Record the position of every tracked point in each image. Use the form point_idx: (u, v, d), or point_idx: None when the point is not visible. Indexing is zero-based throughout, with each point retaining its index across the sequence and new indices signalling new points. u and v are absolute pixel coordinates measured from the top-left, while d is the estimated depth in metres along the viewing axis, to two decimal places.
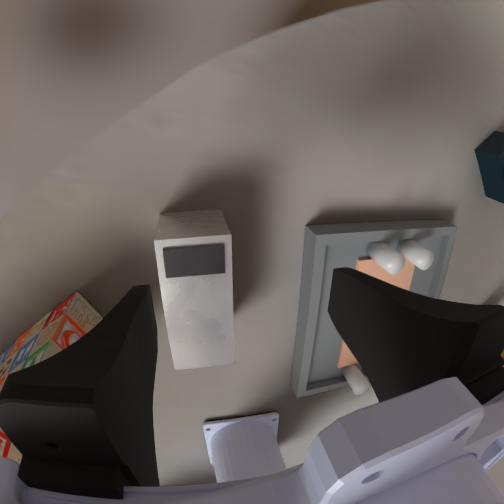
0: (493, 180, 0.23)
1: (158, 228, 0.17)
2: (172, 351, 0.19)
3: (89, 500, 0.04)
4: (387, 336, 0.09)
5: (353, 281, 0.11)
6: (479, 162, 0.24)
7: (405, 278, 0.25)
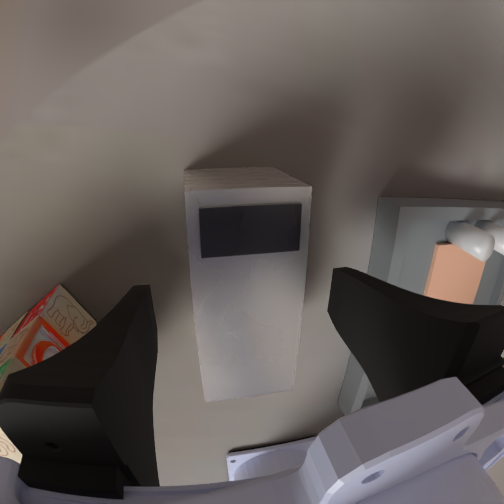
0: None
1: (187, 180, 0.11)
2: (203, 376, 0.12)
3: (89, 500, 0.04)
4: (387, 336, 0.09)
5: (353, 281, 0.11)
6: None
7: (478, 269, 0.18)
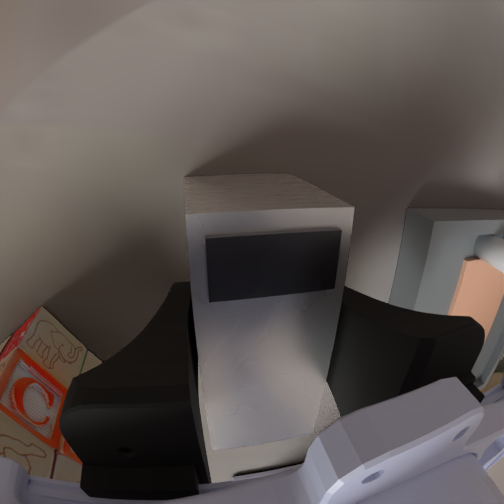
0: None
1: (188, 195, 0.08)
2: (210, 427, 0.10)
3: None
4: (345, 346, 0.09)
5: None
6: None
7: (502, 284, 0.16)
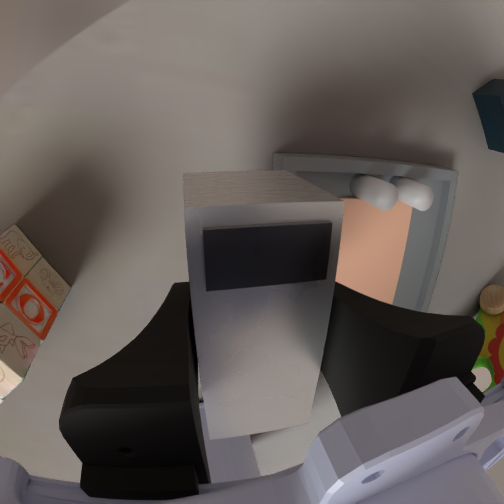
0: (496, 127, 0.19)
1: (187, 190, 0.09)
2: (208, 416, 0.10)
3: None
4: (345, 346, 0.09)
5: None
6: (478, 108, 0.20)
7: (400, 229, 0.21)
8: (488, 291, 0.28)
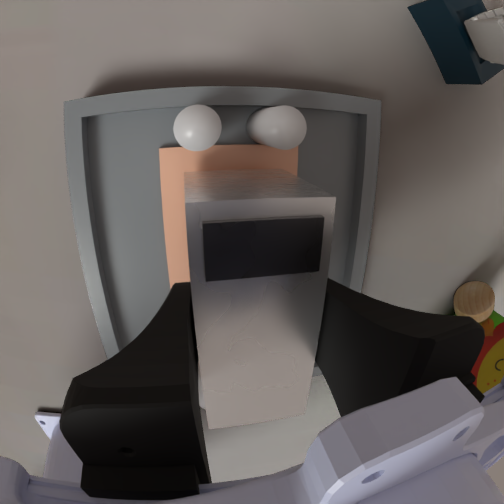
0: (448, 47, 0.12)
1: (187, 187, 0.09)
2: (207, 405, 0.11)
3: None
4: (345, 346, 0.09)
5: None
6: (420, 25, 0.13)
7: None
8: (465, 291, 0.21)
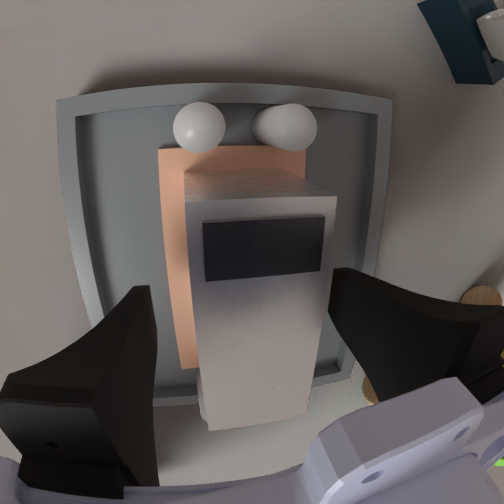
0: (459, 45, 0.12)
1: (187, 187, 0.09)
2: (207, 406, 0.10)
3: (89, 500, 0.04)
4: (387, 336, 0.09)
5: (352, 281, 0.11)
6: (430, 23, 0.12)
7: None
8: (472, 296, 0.20)
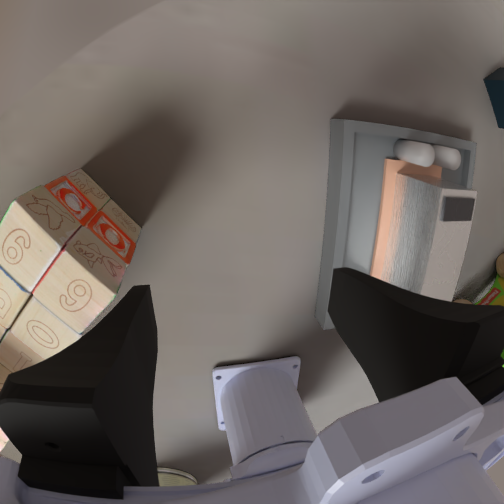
0: None
1: (424, 182, 0.18)
2: (421, 293, 0.20)
3: (89, 500, 0.04)
4: (387, 336, 0.09)
5: (353, 281, 0.11)
6: (489, 92, 0.21)
7: None
8: (503, 258, 0.29)
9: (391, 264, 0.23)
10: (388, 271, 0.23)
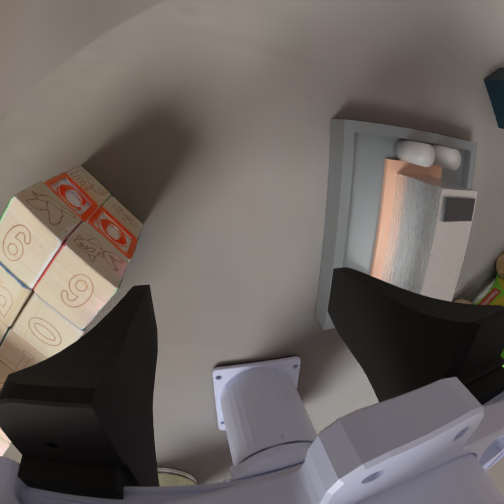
0: None
1: (424, 182, 0.18)
2: (421, 293, 0.20)
3: (89, 500, 0.04)
4: (387, 336, 0.09)
5: (352, 281, 0.11)
6: (489, 92, 0.21)
7: None
8: (503, 258, 0.29)
9: (391, 264, 0.23)
10: (388, 271, 0.23)
